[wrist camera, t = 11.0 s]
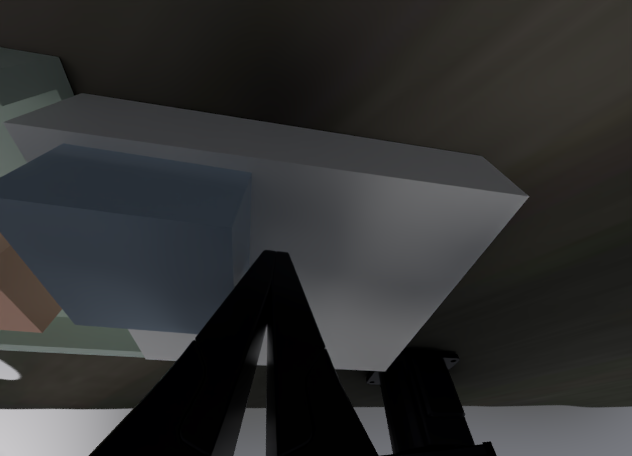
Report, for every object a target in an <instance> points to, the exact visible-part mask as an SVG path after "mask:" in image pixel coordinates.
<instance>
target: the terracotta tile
mask: <svg viewBox="0 0 632 456" xmlns="http://www.w3.org/2000/svg"><path fill="white" fill-rule="evenodd" d="M61 310H62V308H61V307H60V306H59V304H58V303H57V302H56V301H55V300H54V298H53V297H52V296H51V295H50V293H49V292H48V291H47V290H46V288H45V287H44V286H43V285H42V283H41V282H40V281H39V280H38V279H37V277H36V276H35V275H34V274H33V272H32V271H31V270H30V269H29V267H28V266H27V265H26V264H25V262H24V261H23V260H22V259H21V258H20V256H19V255H18V254H17V253H16V251H15V250H14V249H13V248H12V246H11V245H10V244H9V243H8V241H7V240H6V239H5V238H4V236H3V235H2V234H1V233H0V330H8V331H22V332H36V333H43V332H44V330H45V329H46V328H47V327H48V326H49V324H50V323H51V322H52V321H53V320H54V318H55V317H56V316H57V315H58V314H59V312H60V311H61Z"/></svg>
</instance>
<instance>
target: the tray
mask: <svg viewBox="0 0 632 456" xmlns="http://www.w3.org/2000/svg"><path fill="white" fill-rule="evenodd" d="M73 96H74V94H73V91H72V89H71V86H70V84H69V81H68V79H67V76H66V74H65V71H64V69H63V66H62V64H61V61H60V59H59V57H55V56H50V55H44V54H38V53H32V52H26V51H20V50H14V49H9V48H3V47H0V177H2V176H4V175H6V174H8V173H9V172H11V171H13V170H15V169H17V168H19V167H20V166H22V165H24V164H26V163H27V162H26V160H25V159H24V157H23V155H22V154H21V152H20V150H19V149H18V147H17V145H16V144H15V142H14V140H13V139H12V137H11V136H10V134H9V132H8V131H7V129H6V127H5V126H4V124H3V122H4V121H7V120H10V119H13V118H15V117H18V116H21V115H23V114H26V113H29V112H32V111H34V110H37V109H40V108H43V107H45V106H48V105H51V104H54V103H56V102H59V101H62V100H64V99H67V98H70V97H73ZM0 350H10V351H30V352H49V353H69V354H88V355H107V356H127V357H144V355H143V354H142V352H141V350H140V349H139V347H138V345H137V344H136V342H135V340H134V339H133V337H132V335H131V334H130V332H129V331H128V329H122V328H109V327H96V326H83V325H75V324H74V323H73V322H72V321H71V319H70V318H69V317H68V316H67V314H66V313H65V312H64V311H63V309H62V310H61V311H60V312H59V314H58V315H57V316H56V317H55V318H54V320H53V321H52V322H51V323H50V324H49V326H48V327H47V328H46V329H45V330H44V332H43V333H36V332H22V331H8V330H0Z"/></svg>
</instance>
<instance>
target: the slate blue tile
mask: <svg viewBox="0 0 632 456" xmlns="http://www.w3.org/2000/svg"><path fill="white" fill-rule="evenodd" d="M251 188H252V173H251V172H244V171H238V170H231V169H225V168H219V167H212V166H206V165H199V164H193V163H187V162H180V161H174V160H167V159H161V158H155V157H148V156H142V155H135V154H129V153H122V152H116V151H109V150H103V149H96V148H90V147H83V146H77V145H71V144H64V143H63V144H61V145H59V146H57V147H55V148H54V149H52V150H50V151H48V152H46V153H44V154H43V155H41V156H39V157H37V158H35V159H33V160H32V161H30V162H28V163H26V164H24V165H22V166H20V167H19V168H17V169H15V170H13V171H11V172H9V173H8V174H6V175H4V176H2V177H0V233H1V234H2V235H3V236H4V238H5V239H6V240H7V241H8V243H9V244H10V245H11V246H12V248H13V249H14V250H15V251H16V253H17V254H18V255H19V256H20V258H21V259H22V260H23V261H24V262H25V264H26V265H27V266H28V267H29V269H30V270H31V271H32V272H33V274H34V275H35V276H36V277H37V279H38V280H39V281H40V282H41V283H42V285H43V286H44V287H45V288H46V290H47V291H48V292H49V293H50V295H51V296H52V297H53V298H54V300H55V301H56V302H57V303H58V304H59V306H60V307H61V308H62V309H63V311H64V312H65V313H66V314H67V316H68V317H69V318H70V319H71V321H72V322H73V323H74V324H75V325H83V326H96V327H109V328H122V329H135V330H148V331H161V332H174V333H187V334H198V333H199V332H200V331H201V329H202V328H203V327H204V326H205V324H206V323H207V322H208V321H209V319H210V318H211V317H212V315H213V314H214V313H215V312H216V310H217V309H218V308H219V306H220V305H221V304H222V303H223V301H224V300H225V299H226V298H227V296H228V295H229V294H230V292H231V291H232V290H233V289H234V287H235V286H236V285H237V284H238V282H239V281H240V280H241V278H242V277H243V276H244V275H245V273H246V272H247V271H248V269H249V261H250V225H251Z"/></svg>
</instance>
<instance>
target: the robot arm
mask: <svg viewBox="0 0 632 456" xmlns="http://www.w3.org/2000/svg"><path fill="white" fill-rule="evenodd" d="M266 327H267V397H266V456H379V455H378V454H377V452H376V450H375V448H374V446H373V444H372V442H371V441H370V439H369V437H368V435H367V433H366V431H365V429H364V427H363V425H362V423H361V422H360V420H359V418H358V416H357V414H356V412H355V410H354V408H353V406H352V404H351V402H350V400H349V398H348V396H347V394H346V392H345V390H344V388H343V386H342V384H341V382H340V380H339V377H338V375H337V373H336V370H335V368H334V366H333V363H332V361H331V358H330V356H329V353H328V351H327V349H325V347H326V346H325V344H324V341H323V339H322V336H321V333H320V331H319V328H318V326H317V323H316V321H315V318H314V316H313V313H312V311H311V308H310V305H309V303H308V300H307V298H306V295H305V293H304V290H303V288H302V285H301V283H300V280H299V277H298V275H297V272H296V270H295V267H294V265H293V262H292V260H291V257H290V255H289V253H288V252H282V251H273V250H264V251H263V252H262V253H261V254H260V255H259V257H258V258H257V259H256V261H255V262H254V263H253V264H252V266H251V267H250V268H249V269H248V271H247V272H246V273H245V275H244V276H243V277H242V278H241V280H240V281H239V282H238V284H237V285H236V286H235V287H234V289H233V290H232V291H231V292H230V294H229V295H228V296H227V298H226V299H225V300H224V301H223V303H222V304H221V305H220V306H219V308H218V309H217V310H216V312H215V313H214V314H213V315H212V317H211V318H210V319H209V321H208V322H207V323H206V324H205V326H204V327H203V328H202V329H201V331H200V332H199V333H198V335H197V336H196V337H195V340H196V341H195V340H193V341H192V342H191V343H190V345H189V346H188V347H187V348H186V350H185V351H184V352H183V353H182V355H181V356H180V357H179V358H178V359H177V361H176V362H175V363H174V364H173V366H172V367H171V368H170V369H169V370H168V372H167V373H166V374H165V375H164V376H163V377H162V378H161V379H160V381H159V382H158V383H157V384H156V385H155V386H154V387H153V388H152V389H151V390H150V392H149V393H148V394H147V395H146V396H145V397H144V398H143V399H142V400H141V401H140V402H139V403H138V404H137V405H136V406H135V407H134V409H133V410H132V411H131V412H130V413H129V414H128V415H127V416H126V417H125V418H124V419H123V420H122V421H121V422H120V423H119V424H118V425H117V426H116V427H115V429H114V430H113V431H112V432H111V433H110V434H109V435H108V436H107V437H106V438H105V439H104V440H103V441H102V442H101V443H100V444H99V445H98V446H97V447H96V449H95V450H94V451H93V452H92V453H91V454H90V455H89V456H233V455H234V451H235V447H236V443H237V439H238V435H239V432H240V428H241V424H242V420H243V416H244V412H245V409H246V405H247V401H248V397H249V393H250V389H251V385H252V381H253V378H254V374H255V370H256V366H257V362H258V358H259V354H260V351H261V347H262V343H263V339H264V335H265V331H266ZM457 362H459V357H458V355H457V354H453V353H436V352H420V351H404V350H402V352H401V353H400V354H399V355H398V356H397V358H396V359H395V360H394V361H393V362H392V364H391V365H390V366H389V367H388V369H387V370H386V371H371V372H370V373H369V375H368V376H367V377H366V381H367V384H377V385H380V386H381V391H382V397H383V402H384V407H385V413H386V418H387V424H388V429H389V435H390V440H391V445H392V451H393V454H391V455H382V456H496V453H495V451H494V448H493V446H492V443H491V442H483V444H481V445H475V444H474V441H473V438H472V436H471V433H470V431H469V428H468V425H467V422H466V420H465V417H464V416H465V413H464V410H463V408H462V405H461V402H460V400H459V397H458V394H457V392H456V389H455V387H454V384H453V381H452V379H451V376H450V373H449V371H448V370H449V369H450V368H451V367H453V366H454V365H455V364H456V363H457Z"/></svg>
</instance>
